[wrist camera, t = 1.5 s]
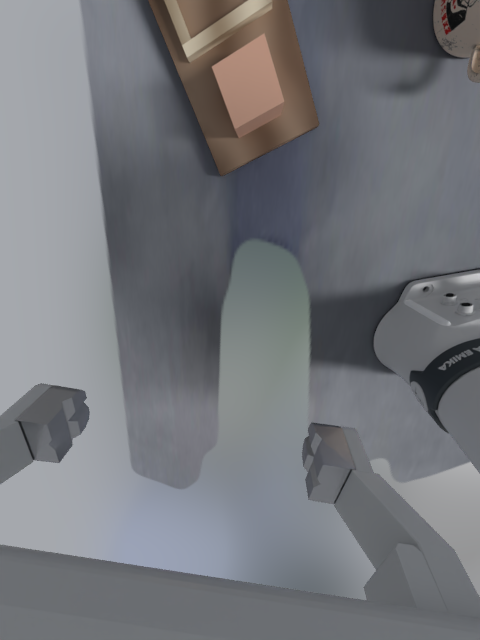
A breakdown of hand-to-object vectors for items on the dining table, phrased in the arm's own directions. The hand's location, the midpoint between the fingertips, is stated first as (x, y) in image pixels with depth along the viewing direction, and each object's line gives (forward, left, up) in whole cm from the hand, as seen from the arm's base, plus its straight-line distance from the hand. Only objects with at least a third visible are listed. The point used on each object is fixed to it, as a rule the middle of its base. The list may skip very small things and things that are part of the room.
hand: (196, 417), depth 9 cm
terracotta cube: (-7, -14, -29) cm, 33 cm away
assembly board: (-7, -19, -30) cm, 37 cm away
